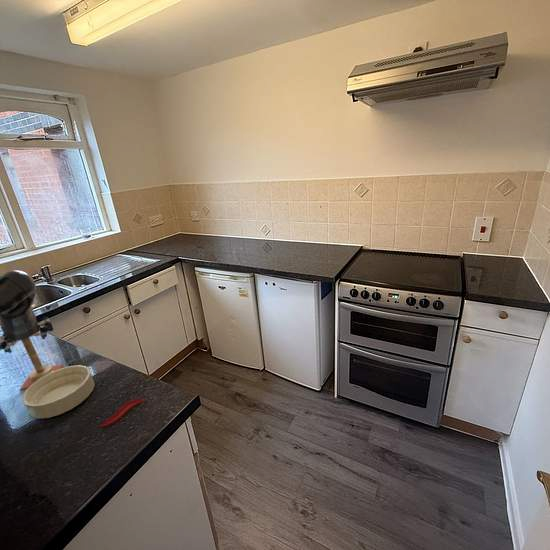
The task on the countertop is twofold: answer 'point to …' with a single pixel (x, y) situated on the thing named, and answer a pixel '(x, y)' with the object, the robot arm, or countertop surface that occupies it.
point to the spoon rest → (29, 382)
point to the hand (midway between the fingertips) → (26, 343)
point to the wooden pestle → (36, 362)
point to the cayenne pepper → (122, 412)
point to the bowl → (58, 391)
